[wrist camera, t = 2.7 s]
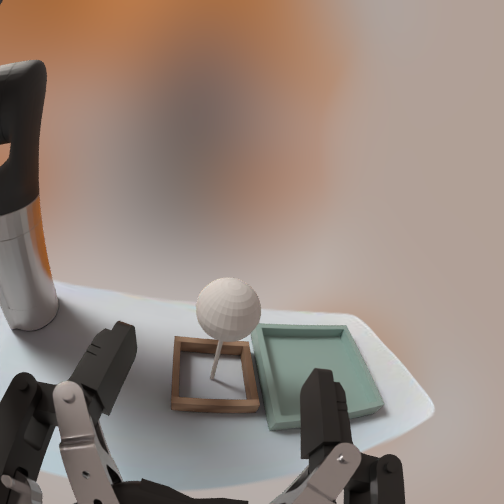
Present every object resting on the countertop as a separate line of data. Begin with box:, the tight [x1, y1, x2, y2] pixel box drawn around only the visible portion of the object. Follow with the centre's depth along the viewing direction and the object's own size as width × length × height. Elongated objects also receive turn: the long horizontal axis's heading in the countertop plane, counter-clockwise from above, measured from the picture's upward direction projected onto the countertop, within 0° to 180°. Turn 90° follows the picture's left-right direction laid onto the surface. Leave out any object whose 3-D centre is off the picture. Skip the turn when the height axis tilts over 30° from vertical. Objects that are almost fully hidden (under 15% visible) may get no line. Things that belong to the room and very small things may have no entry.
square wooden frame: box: [171, 336, 260, 413], centre depth 30 cm, size 10×10×2 cm
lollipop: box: [196, 278, 261, 380], centre depth 27 cm, size 6×6×15 cm
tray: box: [251, 323, 384, 431], centre depth 33 cm, size 15×15×2 cm
